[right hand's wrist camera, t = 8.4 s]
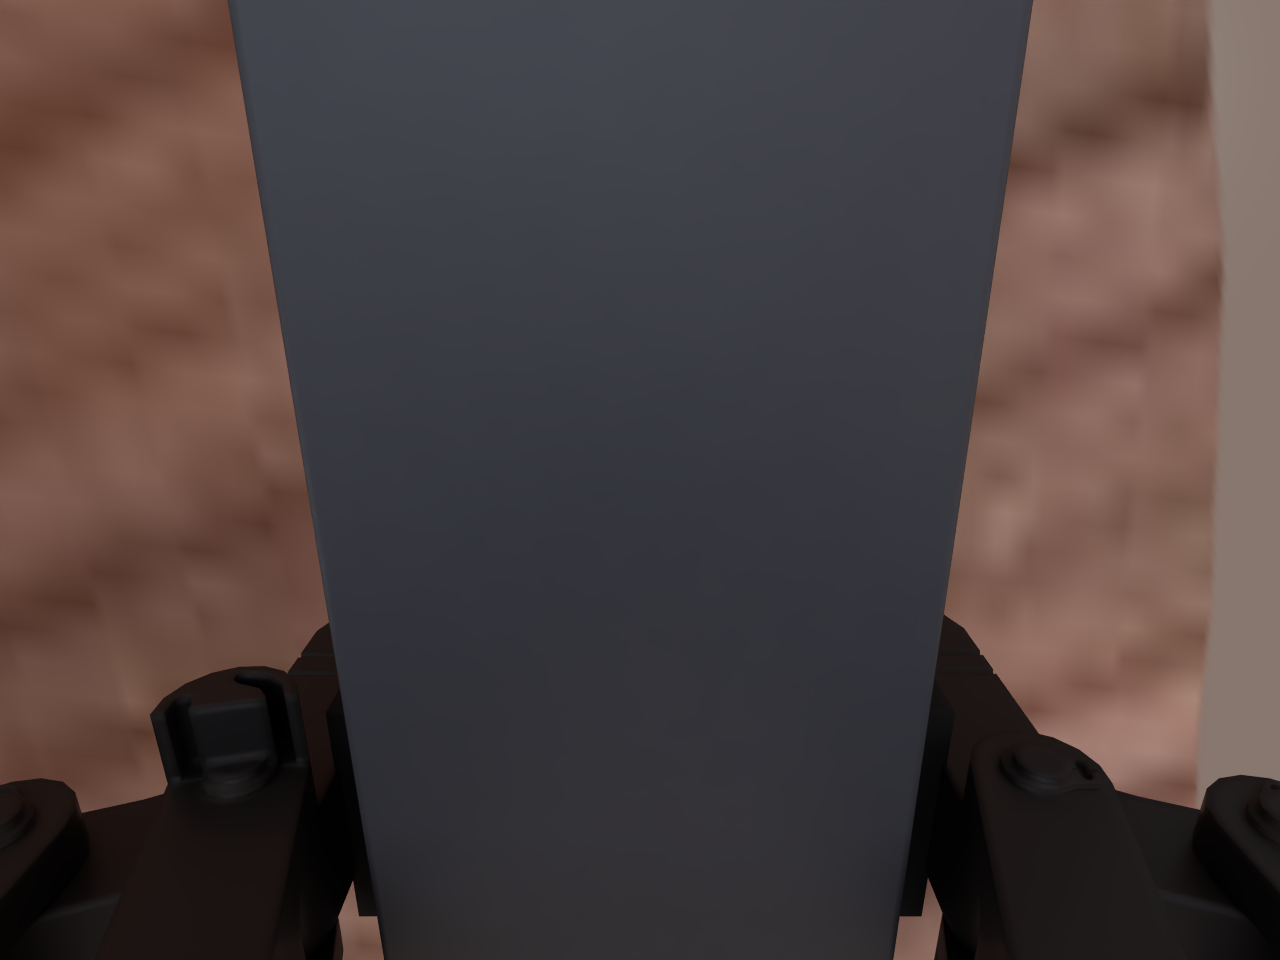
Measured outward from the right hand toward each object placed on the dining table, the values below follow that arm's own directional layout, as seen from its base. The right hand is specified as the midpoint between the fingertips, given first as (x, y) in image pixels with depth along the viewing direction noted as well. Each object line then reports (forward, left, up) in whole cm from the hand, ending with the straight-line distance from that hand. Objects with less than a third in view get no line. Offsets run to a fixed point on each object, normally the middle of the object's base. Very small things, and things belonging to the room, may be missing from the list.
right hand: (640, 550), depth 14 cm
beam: (+6, -19, -1) cm, 20 cm away
